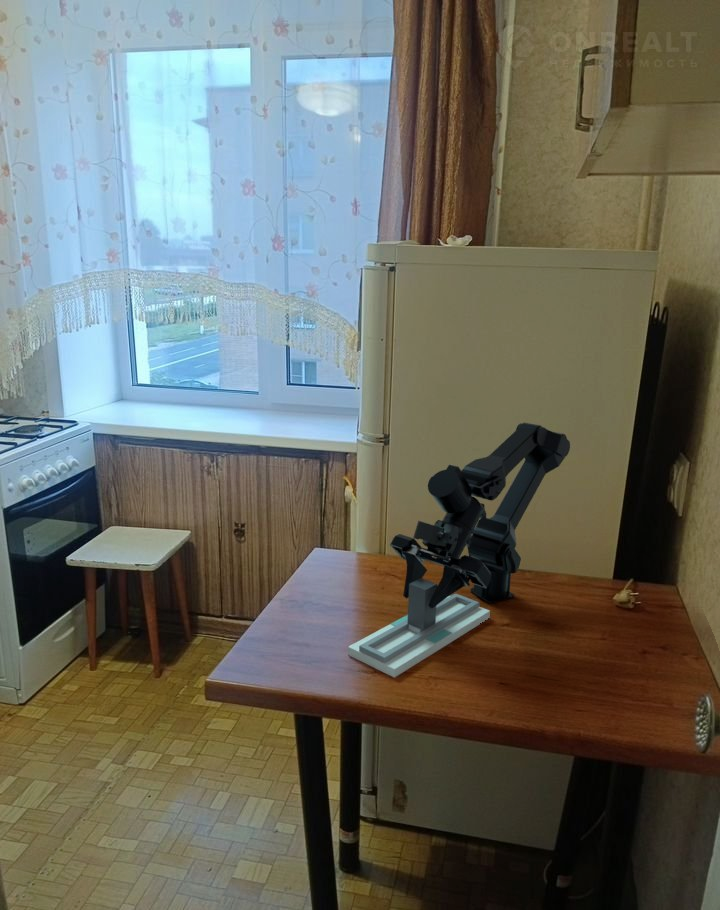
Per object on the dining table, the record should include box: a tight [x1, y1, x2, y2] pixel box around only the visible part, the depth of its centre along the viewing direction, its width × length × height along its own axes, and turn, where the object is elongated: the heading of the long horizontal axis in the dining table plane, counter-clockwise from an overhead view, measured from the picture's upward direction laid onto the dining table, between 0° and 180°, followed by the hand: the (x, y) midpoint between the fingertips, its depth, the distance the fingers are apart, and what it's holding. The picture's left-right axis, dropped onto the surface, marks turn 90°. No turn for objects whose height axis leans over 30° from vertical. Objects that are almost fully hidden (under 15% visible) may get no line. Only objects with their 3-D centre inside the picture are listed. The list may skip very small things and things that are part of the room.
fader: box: [407, 577, 439, 633], centre depth 127 cm, size 4×4×8 cm
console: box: [347, 592, 491, 679], centre depth 128 cm, size 28×10×2 cm, turn 138°
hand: (417, 602), depth 125 cm, fingers open, 5 cm apart
